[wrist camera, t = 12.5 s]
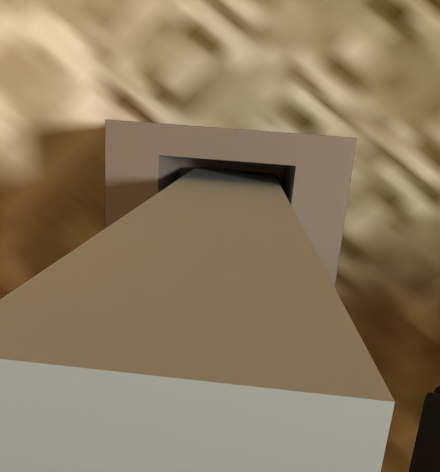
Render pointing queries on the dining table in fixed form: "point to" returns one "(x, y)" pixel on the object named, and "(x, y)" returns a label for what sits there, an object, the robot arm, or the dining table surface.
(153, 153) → the holder
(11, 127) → the dining table surface
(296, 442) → the panel
